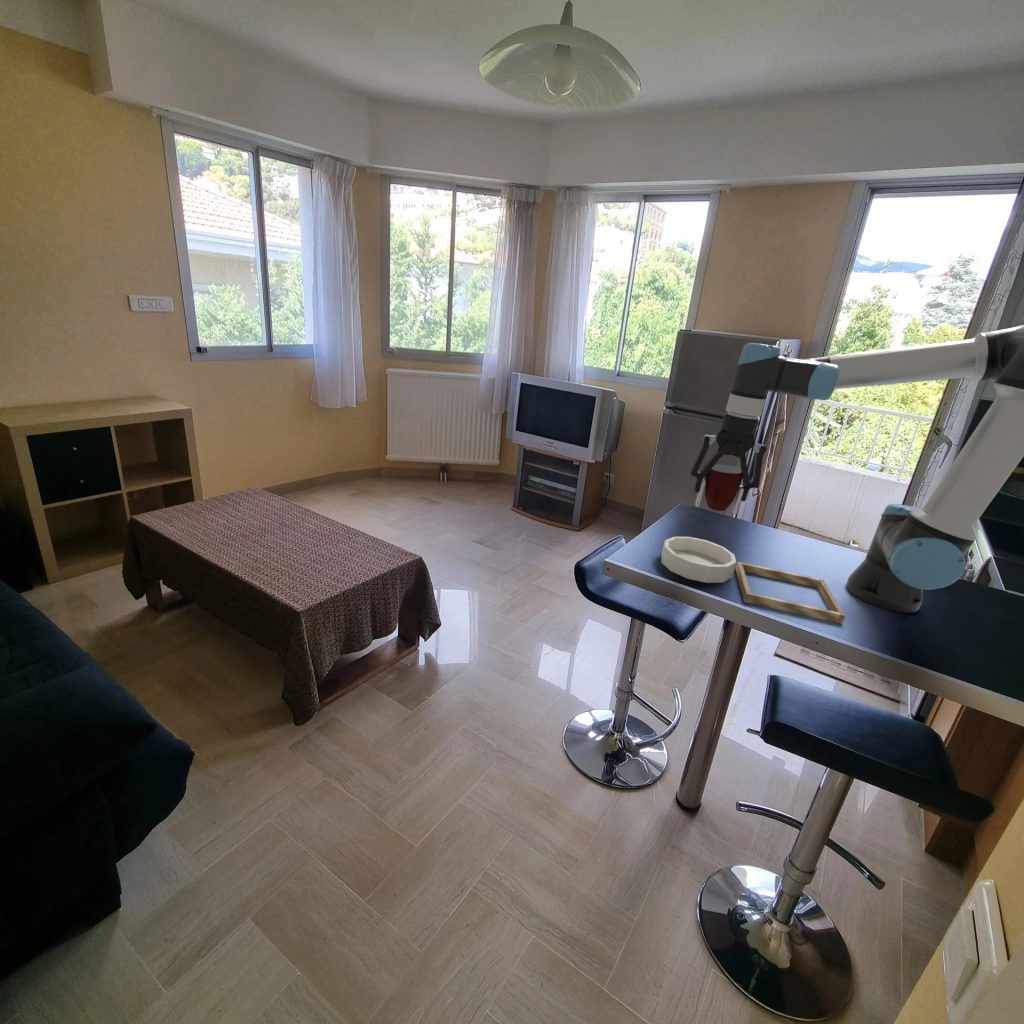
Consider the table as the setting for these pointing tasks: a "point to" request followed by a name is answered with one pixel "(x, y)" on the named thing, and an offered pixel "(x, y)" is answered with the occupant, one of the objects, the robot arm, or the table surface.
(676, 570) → the bowl
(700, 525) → the table surface
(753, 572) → the frame tray
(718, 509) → the mug
